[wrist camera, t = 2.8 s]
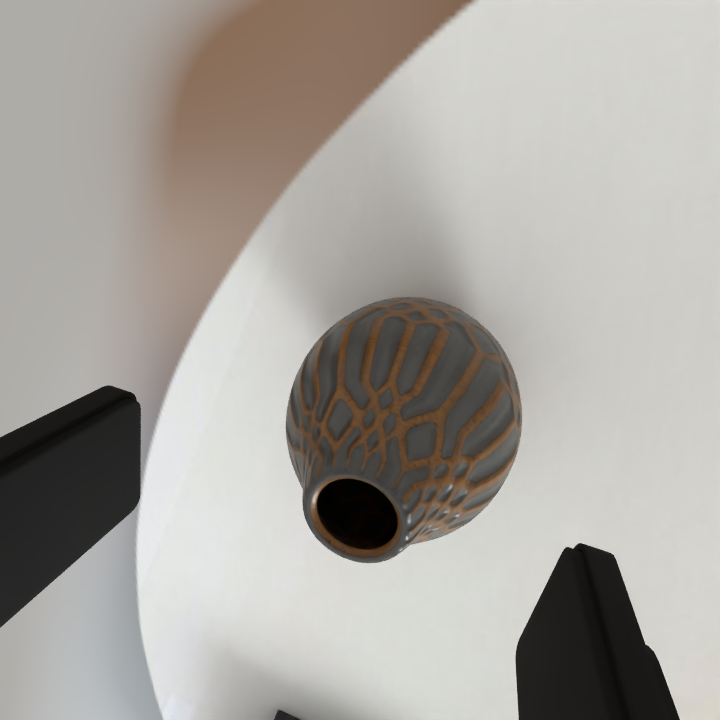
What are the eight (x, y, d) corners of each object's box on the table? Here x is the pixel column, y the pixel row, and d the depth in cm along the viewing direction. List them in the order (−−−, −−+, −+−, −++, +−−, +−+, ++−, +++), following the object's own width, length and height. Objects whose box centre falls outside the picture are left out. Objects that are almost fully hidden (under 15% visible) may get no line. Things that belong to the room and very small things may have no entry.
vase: (339, 273, 17) (195, 341, 9) (533, 290, 15) (565, 393, 7) (336, 433, 19) (221, 597, 11) (502, 464, 18) (502, 685, 10)
